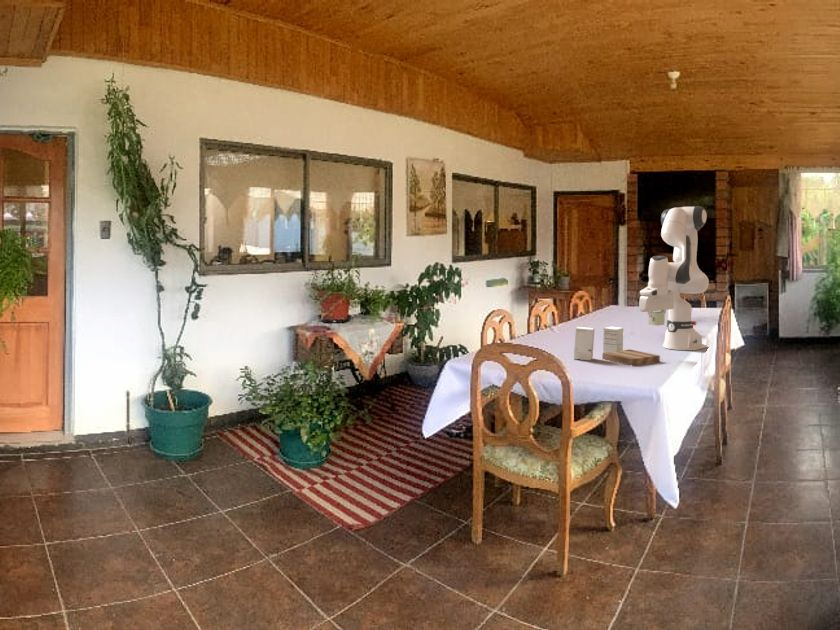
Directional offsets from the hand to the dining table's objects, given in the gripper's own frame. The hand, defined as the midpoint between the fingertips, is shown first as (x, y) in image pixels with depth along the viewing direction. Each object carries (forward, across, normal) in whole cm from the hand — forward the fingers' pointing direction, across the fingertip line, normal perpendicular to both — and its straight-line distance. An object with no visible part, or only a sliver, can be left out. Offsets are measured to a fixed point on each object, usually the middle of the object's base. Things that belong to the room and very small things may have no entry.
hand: (656, 320), depth 333 cm
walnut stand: (+18, +15, -1) cm, 24 cm away
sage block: (+2, 0, 0) cm, 2 cm away
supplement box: (+18, +8, -19) cm, 28 cm away
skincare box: (+18, +31, -15) cm, 39 cm away
